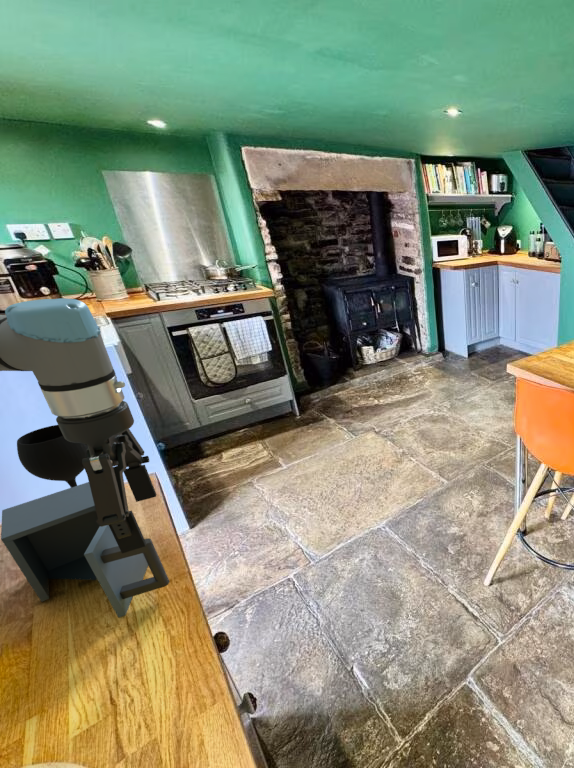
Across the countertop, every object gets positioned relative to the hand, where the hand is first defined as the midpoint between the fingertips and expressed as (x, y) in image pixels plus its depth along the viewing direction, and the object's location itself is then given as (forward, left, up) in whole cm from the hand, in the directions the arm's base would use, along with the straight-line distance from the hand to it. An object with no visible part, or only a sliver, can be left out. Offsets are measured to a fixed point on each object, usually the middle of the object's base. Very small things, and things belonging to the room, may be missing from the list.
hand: (141, 521), depth 67 cm
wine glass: (-39, +23, -18) cm, 49 cm away
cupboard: (-20, +6, -18) cm, 28 cm away
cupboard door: (-5, +3, -18) cm, 19 cm away
